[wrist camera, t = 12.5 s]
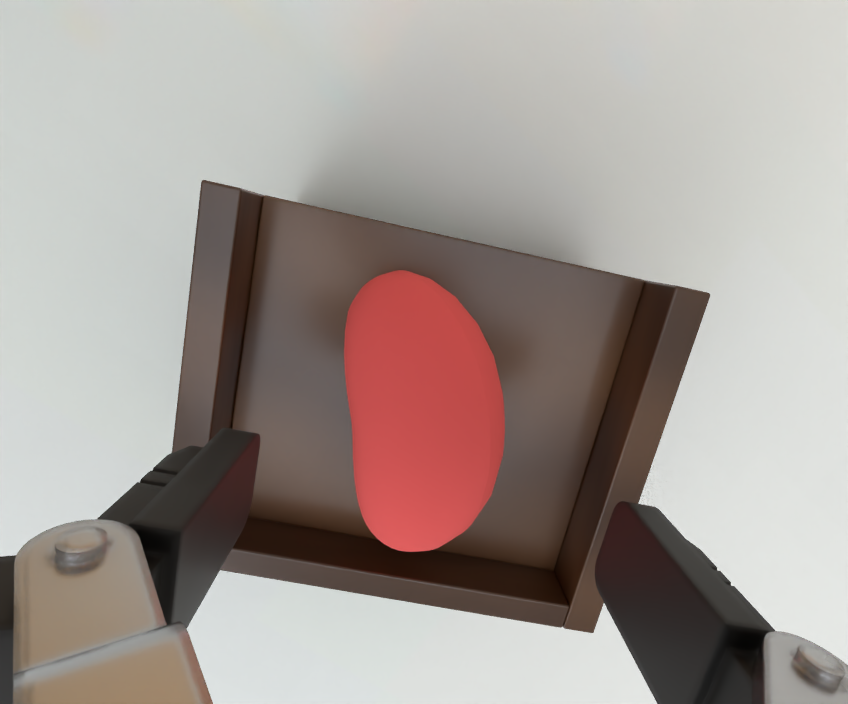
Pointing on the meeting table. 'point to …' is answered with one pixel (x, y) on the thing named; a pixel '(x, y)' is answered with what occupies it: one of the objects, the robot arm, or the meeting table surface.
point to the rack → (520, 381)
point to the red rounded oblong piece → (420, 411)
